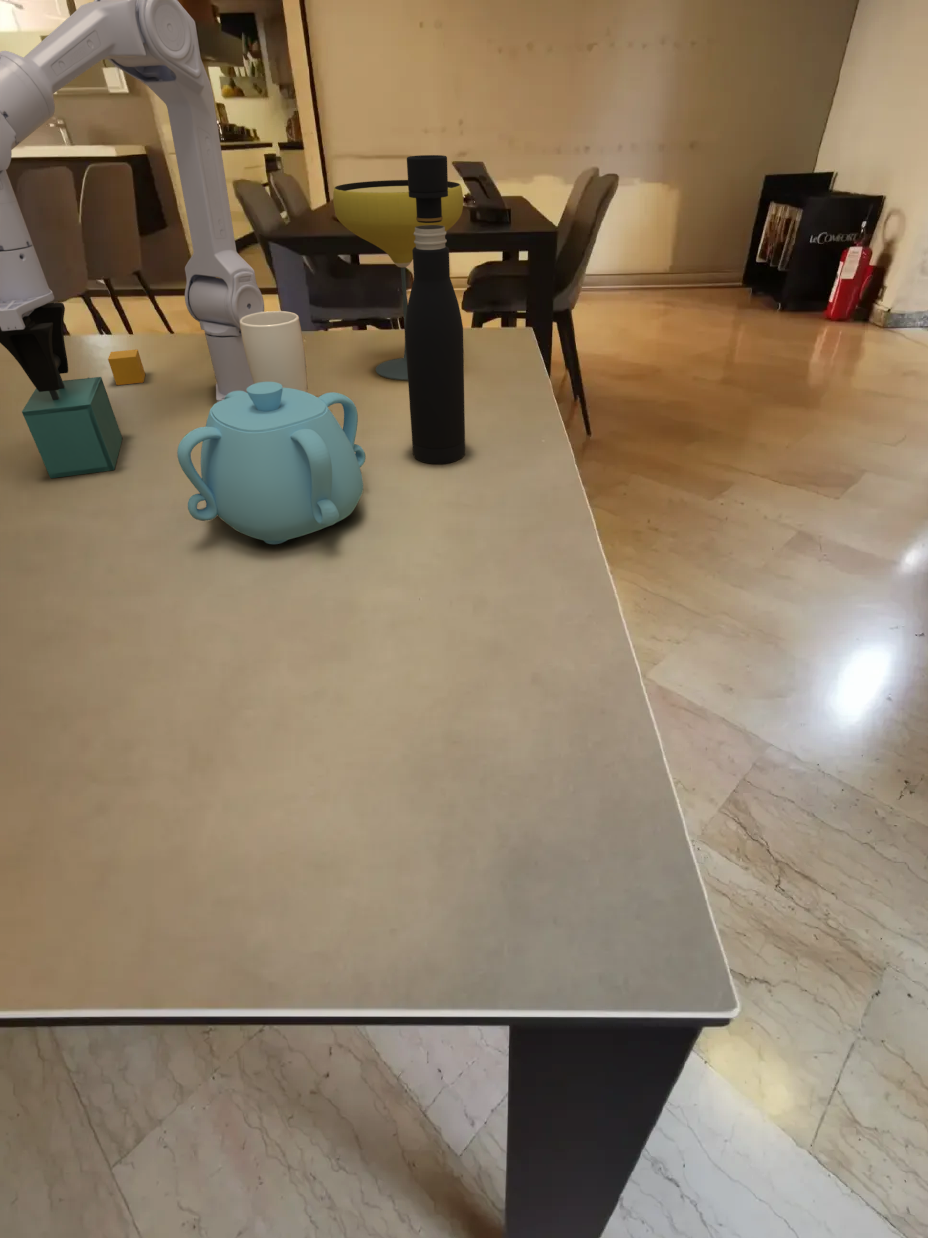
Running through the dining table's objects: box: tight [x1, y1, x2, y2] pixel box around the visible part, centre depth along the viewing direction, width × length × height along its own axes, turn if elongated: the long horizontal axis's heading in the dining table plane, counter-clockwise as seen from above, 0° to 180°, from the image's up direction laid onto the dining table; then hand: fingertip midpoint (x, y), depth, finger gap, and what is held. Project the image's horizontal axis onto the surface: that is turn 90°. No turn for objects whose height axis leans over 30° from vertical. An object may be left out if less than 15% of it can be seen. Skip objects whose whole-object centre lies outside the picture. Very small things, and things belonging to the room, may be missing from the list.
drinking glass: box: [240, 310, 309, 393], centre depth 80 cm, size 7×7×15 cm
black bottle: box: [404, 154, 466, 465], centre depth 73 cm, size 6×6×30 cm
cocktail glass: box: [332, 179, 464, 381], centre depth 100 cm, size 18×18×25 cm
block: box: [107, 348, 146, 386], centre depth 105 cm, size 4×4×4 cm
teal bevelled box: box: [21, 354, 123, 479], centre depth 79 cm, size 12×10×7 cm
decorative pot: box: [176, 382, 366, 545], centre depth 66 cm, size 16×16×14 cm
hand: (54, 381), depth 77 cm, fingers closed on teal bevelled box, 5 cm apart
